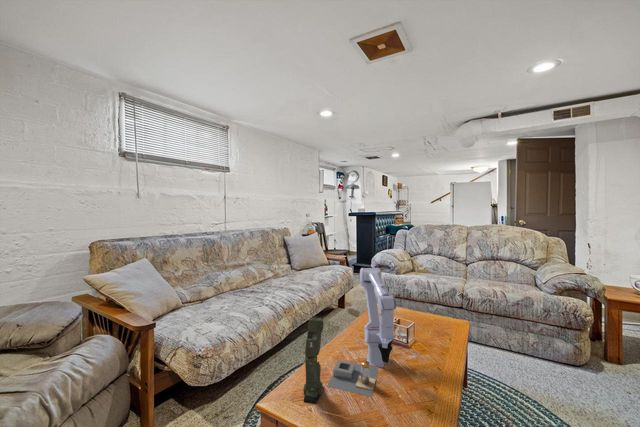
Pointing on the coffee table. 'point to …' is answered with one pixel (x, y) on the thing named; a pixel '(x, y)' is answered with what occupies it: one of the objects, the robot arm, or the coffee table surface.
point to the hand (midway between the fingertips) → (386, 357)
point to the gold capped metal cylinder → (365, 372)
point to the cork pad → (368, 386)
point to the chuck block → (344, 370)
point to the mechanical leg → (313, 361)
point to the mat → (353, 381)
